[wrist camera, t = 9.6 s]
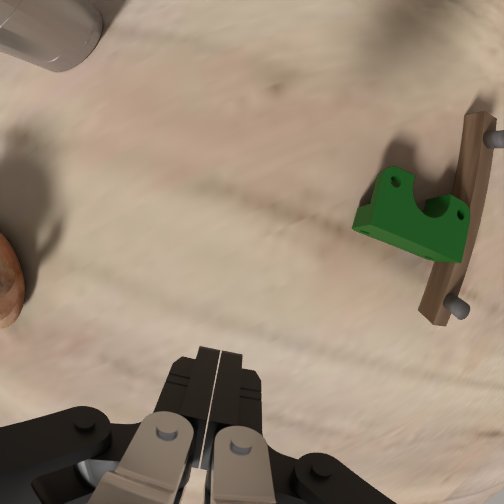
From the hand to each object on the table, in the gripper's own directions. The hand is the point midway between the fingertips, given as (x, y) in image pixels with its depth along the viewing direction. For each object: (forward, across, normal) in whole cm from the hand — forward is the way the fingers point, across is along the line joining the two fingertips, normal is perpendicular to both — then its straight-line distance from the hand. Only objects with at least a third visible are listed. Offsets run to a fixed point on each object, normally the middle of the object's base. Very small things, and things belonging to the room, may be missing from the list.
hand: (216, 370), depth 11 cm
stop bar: (+22, -23, -8) cm, 33 cm away
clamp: (+22, -16, -6) cm, 28 cm away
